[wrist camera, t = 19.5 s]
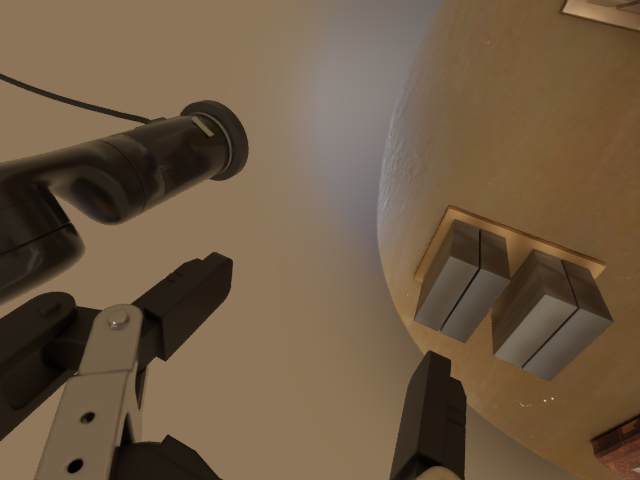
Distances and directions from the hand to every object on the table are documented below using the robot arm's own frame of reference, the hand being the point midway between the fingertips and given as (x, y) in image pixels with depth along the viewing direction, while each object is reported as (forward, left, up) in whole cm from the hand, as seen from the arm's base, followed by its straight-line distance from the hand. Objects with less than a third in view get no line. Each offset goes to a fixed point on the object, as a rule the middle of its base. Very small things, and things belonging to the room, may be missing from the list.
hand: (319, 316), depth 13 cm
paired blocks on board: (+15, -14, -33) cm, 39 cm away
